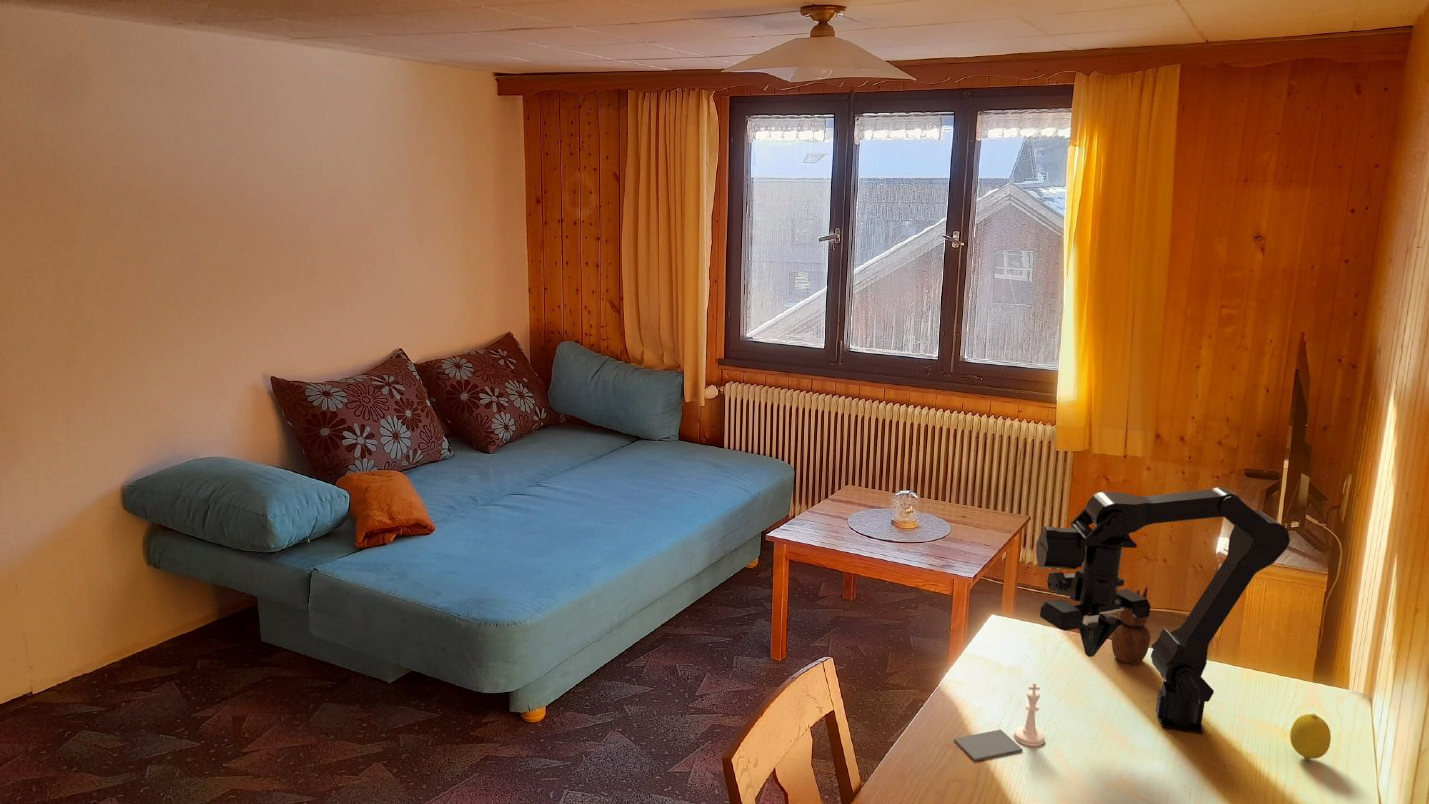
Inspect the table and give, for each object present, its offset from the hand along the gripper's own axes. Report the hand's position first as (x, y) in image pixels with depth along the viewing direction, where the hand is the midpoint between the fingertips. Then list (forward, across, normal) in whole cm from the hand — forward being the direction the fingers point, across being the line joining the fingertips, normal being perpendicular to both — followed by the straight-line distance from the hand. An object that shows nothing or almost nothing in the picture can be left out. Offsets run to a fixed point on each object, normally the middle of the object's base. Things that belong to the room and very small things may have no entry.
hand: (1089, 655), depth 170 cm
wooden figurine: (+12, -24, -14) cm, 30 cm away
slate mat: (+12, +20, +1) cm, 24 cm away
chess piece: (+12, +12, +2) cm, 17 cm away
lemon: (+12, -26, +22) cm, 36 cm away
